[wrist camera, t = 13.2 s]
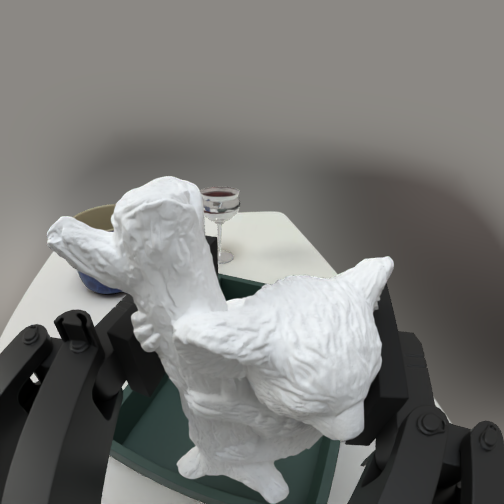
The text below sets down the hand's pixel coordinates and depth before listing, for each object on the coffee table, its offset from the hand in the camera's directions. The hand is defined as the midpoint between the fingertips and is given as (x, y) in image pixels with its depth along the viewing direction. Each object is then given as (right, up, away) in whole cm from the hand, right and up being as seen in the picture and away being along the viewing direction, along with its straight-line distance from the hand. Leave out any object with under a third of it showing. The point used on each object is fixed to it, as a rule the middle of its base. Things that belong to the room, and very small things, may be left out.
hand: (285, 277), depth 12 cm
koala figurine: (-2, -8, -1) cm, 9 cm away
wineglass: (-7, 0, +39) cm, 39 cm away
